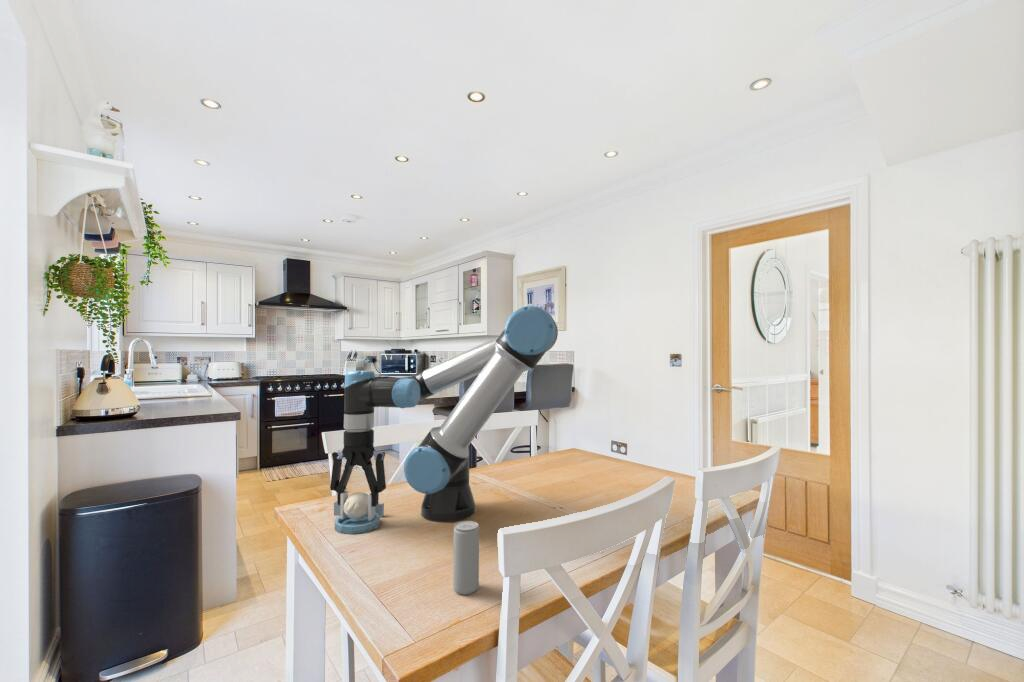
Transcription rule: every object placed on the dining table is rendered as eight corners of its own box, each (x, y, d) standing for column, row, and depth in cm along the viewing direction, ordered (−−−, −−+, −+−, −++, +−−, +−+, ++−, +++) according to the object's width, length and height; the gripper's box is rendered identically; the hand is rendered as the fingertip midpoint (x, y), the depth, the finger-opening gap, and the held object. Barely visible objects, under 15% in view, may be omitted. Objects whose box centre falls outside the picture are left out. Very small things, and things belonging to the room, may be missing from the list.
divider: (383, 515, 122) (383, 503, 122) (382, 517, 121) (382, 504, 121) (335, 513, 124) (335, 501, 124) (333, 515, 123) (334, 502, 123)
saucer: (386, 518, 120) (386, 512, 120) (368, 535, 109) (368, 527, 109) (347, 517, 121) (347, 510, 121) (326, 532, 111) (326, 525, 111)
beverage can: (453, 583, 86) (454, 520, 87) (478, 582, 87) (479, 520, 87) (452, 596, 81) (453, 530, 82) (478, 595, 82) (479, 529, 82)
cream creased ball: (336, 521, 113) (337, 495, 114) (357, 512, 120) (357, 487, 120) (357, 525, 111) (358, 499, 111) (377, 516, 117) (377, 490, 118)
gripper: (400, 427, 119) (399, 514, 118) (330, 426, 121) (329, 511, 120) (389, 432, 111) (388, 525, 111) (315, 430, 114) (314, 521, 113)
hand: (357, 517), depth 115 cm, fingers closed on cream creased ball, 7 cm apart
